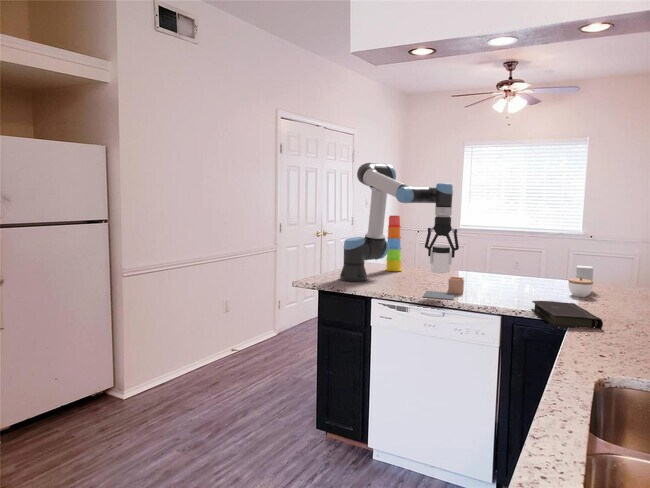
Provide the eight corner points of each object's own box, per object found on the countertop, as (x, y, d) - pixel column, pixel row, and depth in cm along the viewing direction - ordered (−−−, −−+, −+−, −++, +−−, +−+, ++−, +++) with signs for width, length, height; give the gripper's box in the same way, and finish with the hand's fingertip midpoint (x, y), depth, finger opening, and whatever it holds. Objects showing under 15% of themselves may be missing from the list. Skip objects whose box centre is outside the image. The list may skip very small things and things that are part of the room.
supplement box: (590, 289, 247) (592, 266, 245) (591, 292, 240) (593, 268, 239) (574, 288, 250) (576, 265, 248) (575, 291, 243) (577, 267, 242)
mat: (422, 297, 222) (422, 296, 222) (426, 291, 235) (426, 290, 235) (453, 300, 217) (453, 299, 217) (455, 294, 230) (455, 293, 230)
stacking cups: (383, 271, 292) (385, 215, 288) (387, 268, 302) (389, 214, 298) (399, 272, 289) (402, 216, 285) (403, 269, 298) (405, 215, 294)
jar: (439, 273, 219) (441, 248, 217) (427, 271, 226) (428, 246, 224) (453, 272, 224) (454, 247, 222) (440, 269, 231) (441, 245, 229)
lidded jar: (589, 294, 236) (591, 276, 234) (594, 299, 225) (595, 279, 224) (565, 292, 239) (567, 274, 238) (569, 296, 229) (570, 278, 228)
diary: (574, 314, 199) (576, 302, 199) (602, 331, 175) (603, 318, 174) (529, 311, 202) (530, 299, 201) (549, 327, 177) (551, 314, 176)
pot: (448, 292, 233) (448, 278, 232) (449, 290, 239) (449, 276, 239) (462, 294, 231) (463, 280, 230) (463, 291, 237) (464, 277, 236)
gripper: (419, 215, 221) (417, 263, 224) (466, 217, 215) (463, 266, 217) (421, 215, 229) (419, 261, 231) (466, 216, 222) (464, 264, 224)
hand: (440, 263), depth 224 cm, fingers closed on jar, 8 cm apart
